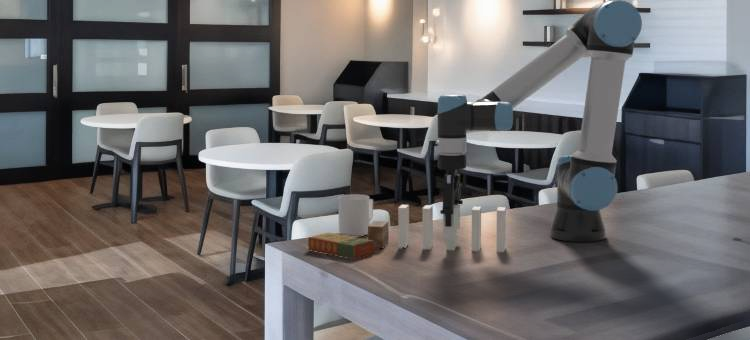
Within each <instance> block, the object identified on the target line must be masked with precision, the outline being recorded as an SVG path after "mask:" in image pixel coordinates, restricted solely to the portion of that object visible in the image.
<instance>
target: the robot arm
mask: <svg viewBox="0 0 750 340" xmlns="http://www.w3.org/2000/svg"><path fill="white" fill-rule="evenodd" d="M642 22H643V21H642V16H641V13H640V12H639V9H637V8H636V6H635V5H633V4H632V3H631V2H628V1H626V0H607V1H605V2H601V3H600V2H599V3H598V4H595V5H594V6H592V7H590V8H589V10H587V11H586V12H585V13H584V14H583V15H582V16H581V17H580V18H579V19H577V20H576V21H575V22H574V23H572V25H571V26H569V27H568V28H566V30H565V31H566V32H565V35H564V36H562V37H560V39H558V40H556V42H554V43H553V44H552V45H551V46H549V47H547V48H546V49H544V51H542V52H541V53H540V54H538V55H537V56H536V57H534V58H533V59H531V61H529V62H528V63H527V64H525V65H524V66H522V68H520V69H519V70H518V71H516V72H515V73H514V74H512V75H510V77H508V78H507V79H506V80H504V81H503V82H502V83H500V84H499V85H497V86H496V87H495V88H493V89H492V90H491V91H490V92H489V93H487V94H486V95H484V96H483V97H482V98H478V99H477V100H476V101H475V102H474V101H473V102H472V101H468V99H467V96H466V95H465V94H442V95H440V96H439V97H438V99H437V112H436V114H437V116H436V117H437V140H436V141H435V144H436V145H437V152H438V153H439V154H437V168H438V169H439V170H445V171H446V172H445V174H444V175H443V195H442V209H441V210H440V215H443V218H442V219H443V220H442V221H443V225H442V226H443V229H442V230H443V231H442V233H443V235H442V237H443V239H445V240H447V239H454V214H453V213H454V211H453V209H454V206H457V229H458V230H459V229H461V205H463V203H464V201H463V199H462V197H461V174H460V172H461V171H460V170H464V169H466V168H467V154H466V153H467V150H468V149H467V145H468V144H467V143H468V142H467V140H468V139H467V132H469V131H470V132H473V131H474V132H475V131H478V132H479V131H480V132H482V131H484V132H490V131H491V132H492V131H493V132H495V131H496V132H501V131H510V130H511V129H512V127H513V124H514V111H513V110H514V109H515V108H516V107H517V106H519V105H520V104H521V103H523V102H524V101H526V99H528V98H529V97H531V96H532V95H533V94H535V93H536V92H537V91H538V90H539V91H540V89H541V88H543V87H544V86H546V85H547V84H548V83H549V82H551V81H552V80H554V79H555V78H557V76H559V75H560V74H561V73H564V72H565V71H566V70H567V69H569V68H570V67H571V66H572V65H573V64H575V63H576V62H578V61H579V60H580V59H582V58H589V57H590V64H589V72H588V80H587V87H586V95H585V100H584V108H583V113H582V114H583V116H582V122H581V128H580V129H581V130H580V136H579V144H578V149H577V150H576V151H574V152H573V153H572V154H571V155H562V156H559V158H558V160H557V165H556V169H557V171H556V172H557V173H556V174H557V180H556V181H557V186H556V189H557V190H556V191H557V192H556V193H557V194H556V195H557V196H556V211H555V213H554V216H553V219H552V222H551V225H550V230H549V235H550V238H553V239H556V240H559V241H564V242H565V241H566V242H576V243H577V242H578V243H585V242H586V243H589V242H598V241H603V240H604V239H605V238H606V228H605V224H604V222H603V218H602V214H601V212H600V210H603V209H605V208H607V207H608V206H610V204H612V202H614V201H615V198H616V197H617V193H618V182H617V178H616V177H615V176H616V169H617V162H618V161H617V159H616V158H615V157H614V155H613V148H614V140H615V133H616V128H617V120H618V113H619V106H620V102H621V100H620V99H621V94H622V86H623V80H624V73H625V67H626V63H627V61H628V60H629V59H630V58H632V57H633V55H634V49H635V41H636V40H637V39H638V37H639V36H640V34H641V31H642V28H643V27H642V26H643V23H642Z"/></svg>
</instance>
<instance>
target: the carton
mask: <svg viewBox="0 0 750 340" xmlns="http://www.w3.org/2000/svg"><path fill="white" fill-rule="evenodd" d="M307 242H308V243H307V244H308V251H309V250H312V251H317V252H322V253H327V254H332V255H337V256H342V257H347V258H351V259H350V260H352V259H355V260H357V259H356V258H359V257H362V258H364V257H363V256H365V257H367V256H366V255H369V256H371V255H370V254H372V255H374V254H375V249H374V242H373V240H368V238H367V239H366V238H362V237H350V236H344V235H341V234H338V233H332V232H326V233H322V234H321V233H320V234H318V235H312V236H309V237H308V240H307ZM373 253H374V254H373ZM347 258H346V259H347ZM359 259H360V258H359Z"/></svg>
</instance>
